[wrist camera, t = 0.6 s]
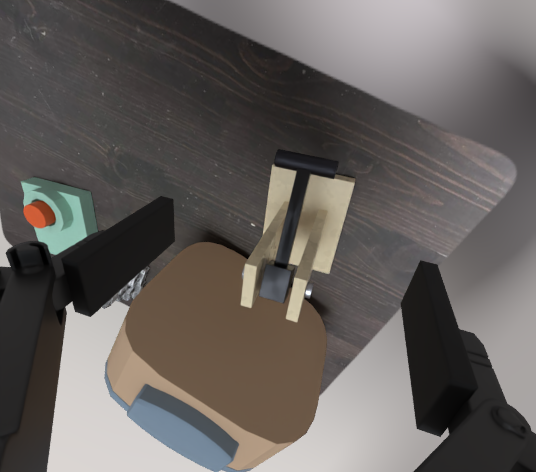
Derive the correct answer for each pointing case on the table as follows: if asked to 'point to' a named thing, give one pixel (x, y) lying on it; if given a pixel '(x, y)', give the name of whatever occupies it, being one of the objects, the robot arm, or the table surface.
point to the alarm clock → (216, 363)
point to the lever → (292, 220)
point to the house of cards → (130, 288)
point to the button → (39, 214)
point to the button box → (62, 212)
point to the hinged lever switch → (299, 234)
